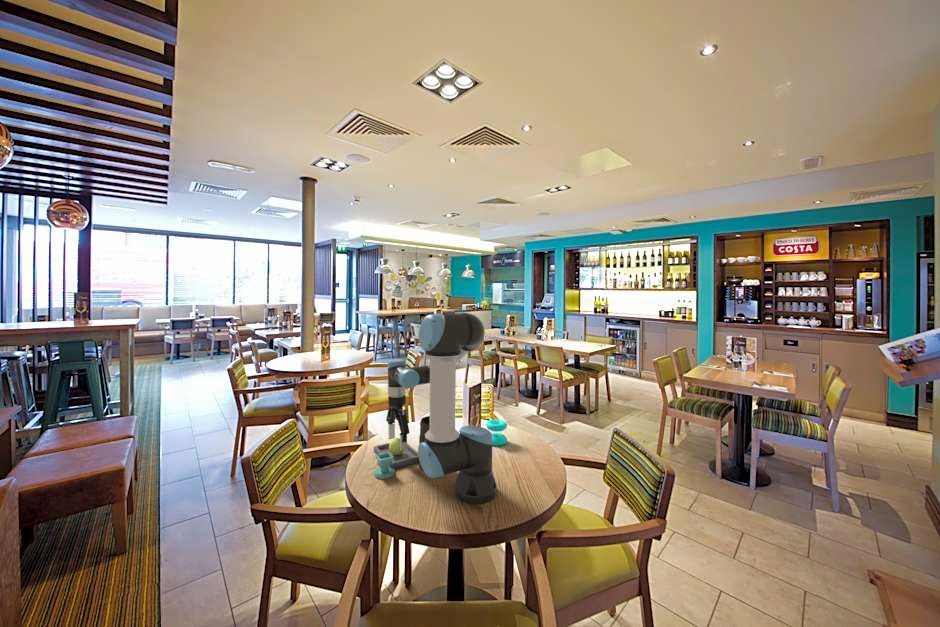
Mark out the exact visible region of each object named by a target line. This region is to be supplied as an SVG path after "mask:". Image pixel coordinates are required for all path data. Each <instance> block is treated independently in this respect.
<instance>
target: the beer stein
mask: <svg viewBox="0 0 940 627" xmlns="http://www.w3.org/2000/svg"><path fill="white" fill-rule="evenodd" d="M419 425H420V428H419V429H420V430H419V431H420V432H419V437H418V438H419V441H418V444H420V443H422V442H425V433H426V432H427V431H428V430H429V429H430V415H428V416H427V415H426V416H424V417H422V418H421V419H420V423H419ZM418 467H419V470H422V471H423V472H424V470H423V468H422V466H421V463H420V462H418Z"/></svg>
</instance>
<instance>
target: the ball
mask: <svg viewBox="0 0 940 627" xmlns="http://www.w3.org/2000/svg"><path fill="white" fill-rule="evenodd" d="M389 443H390V444H389V451H390V452H391V454H393V455H400V454H402V453H403V452H404V450H405V449H403V450H400V437H399V438H397V437H395V438H394V439H391V441H389Z"/></svg>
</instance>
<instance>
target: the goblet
mask: <svg viewBox="0 0 940 627" xmlns="http://www.w3.org/2000/svg"><path fill="white" fill-rule="evenodd" d="M375 459H376V461H377V462H376V463H377V464H376V465H377V467H378V468H376V469H375V470H374V472H373V476H374V477H375V478H376V479H379V480H387V479H390V478H393V477H394V476H395V475H396V468H395V469H394V468H392V467H389V466H390V465H392V460H394V457H393V456H392V455H391V454H390V453H389V452H387V453H382V454H378V455H375Z"/></svg>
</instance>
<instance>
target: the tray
mask: <svg viewBox="0 0 940 627" xmlns="http://www.w3.org/2000/svg"><path fill="white" fill-rule="evenodd" d="M389 444H390V442H387V443H383V444H378V445H374V446H373V453H375V454H376V455H378V454H382V453H387V452H389V453H390V454H391V452H390V451H389ZM376 455H375V456H376ZM391 455H392V456H393V457H394V460H392V465H390V466H389V467H392V468H394V469H395V470H396V469H398V468H402V467H406V466H410V465H413V464H417V463H418V464H419V462H420V460H419V456H418V450H416V449H414V448H413V447H412V446H411V445H410V444H409V443H407V449H405V450H404V452H403V453H402V454H400V455H393V454H391Z"/></svg>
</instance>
